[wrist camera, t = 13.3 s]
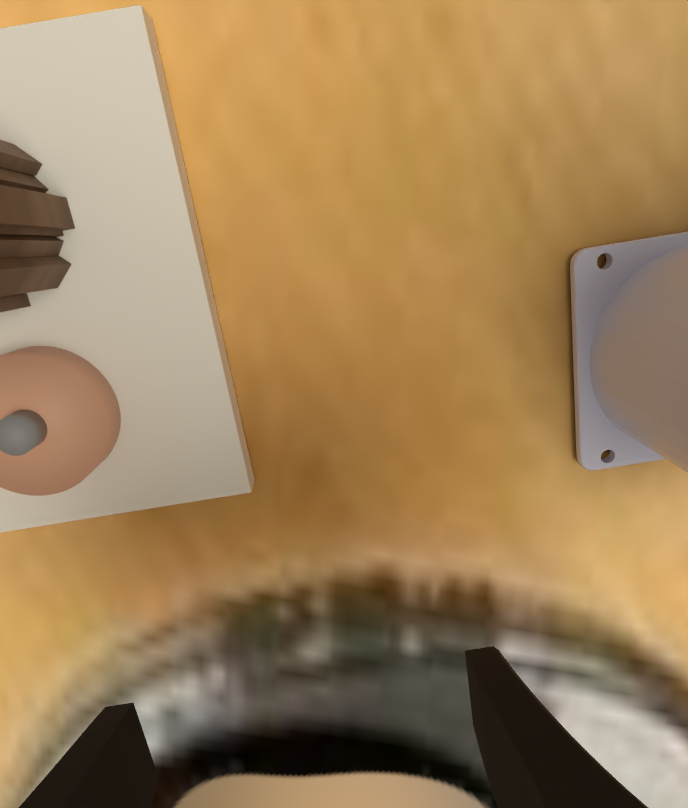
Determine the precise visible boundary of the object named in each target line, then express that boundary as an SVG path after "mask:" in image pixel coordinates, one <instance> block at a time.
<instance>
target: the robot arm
mask: <svg viewBox="0 0 688 808" xmlns="http://www.w3.org/2000/svg"><path fill="white" fill-rule="evenodd" d="M601 254H604V255H605V256H606V258H607V261H606V264H605V266H604V267H603V268H599V267H598V265H597V259H598V257H599V256H600V255H601ZM570 278H571V308H572V337H573V366H574V396H575V425H576V454H577V461H578V463H579V464H580V465H581V466H582V467H583V468H585V469H587V470H600V469H606V468H613V467H619V466H625V465H632V464H638V463H644V462H650V461H657V460H663V459H667V460H669V461H670V462H672V463H674V464H675V465H677V466H679V467H680V468H682V469H683V470H685V471H687V472H688V231H686V232H680V233H674V234H668V235H662V236H655V237H649V238H643V239H637V240H631V241H625V242H619V243H612V244H606V245H600V246H594V247H588V248H583V249H581V250H578V251H577V252H576V253H575V254H574V255H573V257H572V259H571V263H570ZM606 450H609V451H610V452H609V455H608V456H607V457H606V458H604V459H601V454H602V453H603V452H604V451H606ZM465 655H466V664H467V673H468V682H469V691H470V700H471V709H472V718H473V726H474V730H475V734H476V737H477V741H478V745H479V748H480V752H481V756H482V759H483V763H484V767H485V770H486V774H487V777H488V780H489V783H490V786H491V789H492V791H493V794H494V797H495V799H496V802H497V805H498V807H499V808H648V807H647V806H645V805H644V804H643V803H642V802H641V801H640V800H639V799H637V798H636V797H635V796H634V795H633V794H632V793H631V792H629V791H628V790H627V789H626V788H625V787H624V786H623V785H622V784H621V783H619V782H618V781H617V780H616V779H615V778H614V777H613V776H612V775H611V774H610V773H609V772H608V771H607V770H605V769H604V768H603V767H602V766H601V765H600V764H599V763H598V762H597V761H596V760H595V759H594V758H593V757H592V756H591V755H590V754H589V753H588V752H587V751H586V750H585V749H584V748H583V747H582V746H581V745H580V744H579V743H578V742H577V741H576V740H575V739H574V738H573V737H572V736H571V735H570V734H569V733H568V732H567V731H566V730H565V728H564V727H563V726H562V725H561V724H560V723H559V722H558V721H557V720H556V719H555V718H554V717H553V715H552V714H551V713H550V712H549V711H548V710H547V709H546V708H545V707H544V706H543V705H542V703H541V702H540V701H539V700H538V699H537V698H536V697H535V695H534V694H533V693H532V692H531V691H530V689H529V688H528V687H527V686H526V685H525V684H524V682H523V681H522V680H521V679H520V677H519V676H518V675H517V674H516V672H515V671H514V670H513V669H512V667H511V666H510V665H509V663H508V662H507V661H506V659H505V658H504V657H503V655H502V654H501V653H500V651H499V650H498V649H496V648H495V647H494V646H493V647H486V648H480V649H473V650H467V651H465ZM157 775H158V774H157V771H156V768H155V765H154V762H153V760H152V757H151V754H150V751H149V748H148V745H147V742H146V739H145V736H144V733H143V730H142V727H141V724H140V721H139V718H138V715H137V712H136V709H135V706H134V703H128V704H122V705H115V706H109V707H105V708H104V709H103V710H102V712H101V713H100V714H99V715H98V716H97V717H96V718H95V719H94V721H93V722H92V723H91V724H90V725H89V726H88V728H87V729H86V730H85V731H84V732H83V733H82V735H81V736H80V737H79V738H78V739H77V741H76V742H75V743H74V744H73V745H72V747H71V748H70V749H69V750H68V751H67V752H66V754H65V755H64V756H63V757H62V758H61V760H60V761H59V762H58V763H57V764H56V765H55V767H54V768H53V769H52V770H51V771H50V772H49V773H48V775H47V776H46V777H45V778H44V779H43V780H42V782H41V783H40V784H39V785H38V786H37V787H36V788H35V790H34V791H33V792H32V793H31V794H30V795H29V797H28V798H27V799H26V800H25V801H24V802H23V803H22V805H21V806H20V807H19V808H151V807H152V802H153V796H154V791H155V786H156V780H157Z"/></svg>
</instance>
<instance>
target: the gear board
mask: <svg viewBox="0 0 688 808" xmlns="http://www.w3.org/2000/svg"><path fill="white" fill-rule="evenodd" d="M0 140H3V141H6V142H9V143H12V144H15V145H16V146H17V147H19V148H20V149H22V150H23V151H25V152H26V153H27V154H29V155H30V156H32V157H33V158H35V159H36V160H37V161H39V162H40V163H42V166H41V168H40V170H39V172H38V173H37V175H36V176H35V175H34V176H35V177H36V178H37V179H38V180H39V181H40V182H41V183H42V184H43V185H45V186H46V187H47V188H48V189H49V190H48V191H47V192H46V193H47V194H52V195H56V196H61V197H66V198H67V201H68V205H69V208H70V211H71V215H72V218H73V222H74V225H75V229H69V230H63V234H64V236H59V237H57V238H59V239H61V240H63V241H64V242H63V245H62V248H61V251H60V253H59V256H61V257H62V258H64V259H65V260H67V261H68V262H70V263H71V264H72V265H71V266H70V268H69V270H68V271H67V273H66V275H65V277H64V278H63V280H62V282H61V284H60V285H59V287H58V288H54V289H48V290H42V291H35V292H29V293H24V294H27V295H28V298H29V301H30V305H31V306H29V307H24V308H20V309H15V310H10V311H5V312H0V532H7V531H13V530H19V529H25V528H32V527H38V526H44V525H51V524H57V523H63V522H69V521H76V520H82V519H88V518H94V517H101V516H107V515H113V514H120V513H126V512H132V511H138V510H145V509H151V508H157V507H163V506H170V505H176V504H182V503H188V502H195V501H201V500H207V499H214V498H220V497H226V496H232V495H239V494H245V493H251V492H252V488H253V485H254V481H255V480H254V475H253V471H252V466H251V462H250V457H249V453H248V448H247V444H246V439H245V435H244V430H243V426H242V421H241V417H240V412H239V408H238V403H237V399H236V395H235V390H234V386H233V381H232V377H231V372H230V368H229V363H228V359H227V354H226V350H225V345H224V341H223V336H222V332H221V327H220V323H219V318H218V314H217V309H216V305H215V300H214V296H213V291H212V287H211V282H210V278H209V273H208V269H207V264H206V260H205V255H204V251H203V247H202V242H201V238H200V233H199V229H198V224H197V220H196V215H195V211H194V206H193V202H192V197H191V193H190V188H189V184H188V179H187V175H186V170H185V166H184V161H183V157H182V152H181V148H180V143H179V139H178V134H177V130H176V125H175V121H174V116H173V112H172V107H171V103H170V98H169V94H168V90H167V85H166V81H165V76H164V72H163V67H162V63H161V58H160V54H159V49H158V45H157V40H156V36H155V31H154V27H153V22H152V19H151V18H150V16H149V15H148V14H147V12H146V11H145V10H144V8H143V7H142V6H141V5H137V6H131V7H125V8H119V9H113V10H108V11H102V12H96V13H90V14H84V15H78V16H72V17H66V18H60V19H54V20H48V21H42V22H36V23H30V24H24V25H18V26H12V27H6V28H0Z"/></svg>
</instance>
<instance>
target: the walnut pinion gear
mask: <svg viewBox="0 0 688 808" xmlns="http://www.w3.org/2000/svg"><path fill="white" fill-rule="evenodd" d="M41 166H42V163H40V162H39V161H37V160H36V159H35V158H33V157H32V156H30V155H29V154H27V153H26V152H25V151H23V150H22V149H20V148H19V147H17V146H16V145H15V144H12V143H9V142H6V141H3V140H0V312H5V311H10V310H15V309H20V308H24V307H29V306H31V305H30V301H29V298H28V295H27V294H24V293H29V292H35V291H42V290H48V289H54V288H58V287H59V285H60V284H61V282H62V280H63V278H64V277H65V275H66V273H67V271H68V270H69V268H70V266H71V265H72V264H71V263H70V262H68V261H67V260H65V259H64V258H62V257H61V256H59V253H60V251H61V248H62V245H63V242H64V241H63V240H61V239H59V238H57V237H59V236H64V234H63V230H69V229H75V225H74V222H73V218H72V215H71V211H70V208H69V205H68V201H67V198H66V197H61V196H56V195H52V194H47V193H46V192H47V191H48V190H49V189H48V188H47V187H46V186H45V185H43V184H42V183H41V182H40V181H39V180H38V179H37V178H36V177H35V176H36V175H37V173H38V172H39V170H40V168H41ZM34 175H35V176H34Z"/></svg>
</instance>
